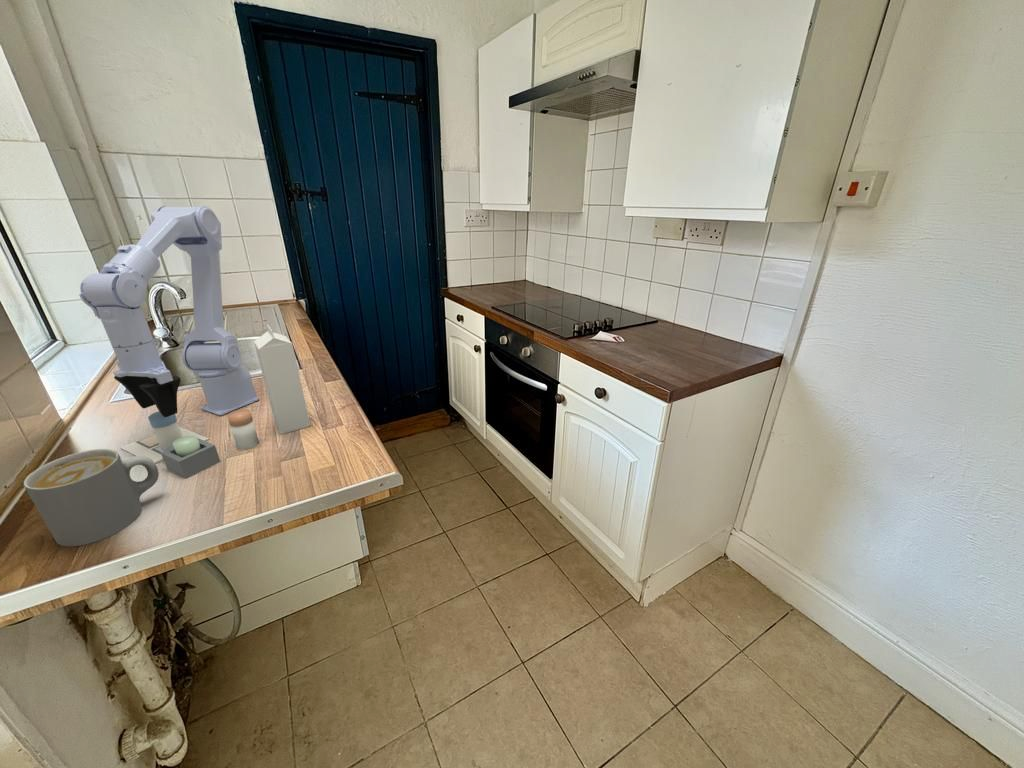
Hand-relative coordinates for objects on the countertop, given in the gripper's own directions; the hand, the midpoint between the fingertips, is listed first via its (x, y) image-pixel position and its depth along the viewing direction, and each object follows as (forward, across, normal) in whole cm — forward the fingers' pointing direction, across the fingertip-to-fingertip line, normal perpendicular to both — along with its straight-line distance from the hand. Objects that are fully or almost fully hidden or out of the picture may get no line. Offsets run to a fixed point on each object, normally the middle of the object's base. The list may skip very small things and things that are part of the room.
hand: (159, 410), depth 81 cm
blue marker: (+8, 0, 0) cm, 8 cm away
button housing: (+8, +10, -2) cm, 13 cm away
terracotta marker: (+8, +12, +7) cm, 16 cm away
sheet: (+8, -3, 0) cm, 9 cm away
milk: (+9, +13, +17) cm, 23 cm away
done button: (+6, +10, -2) cm, 12 cm away
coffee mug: (+8, +14, -15) cm, 22 cm away
